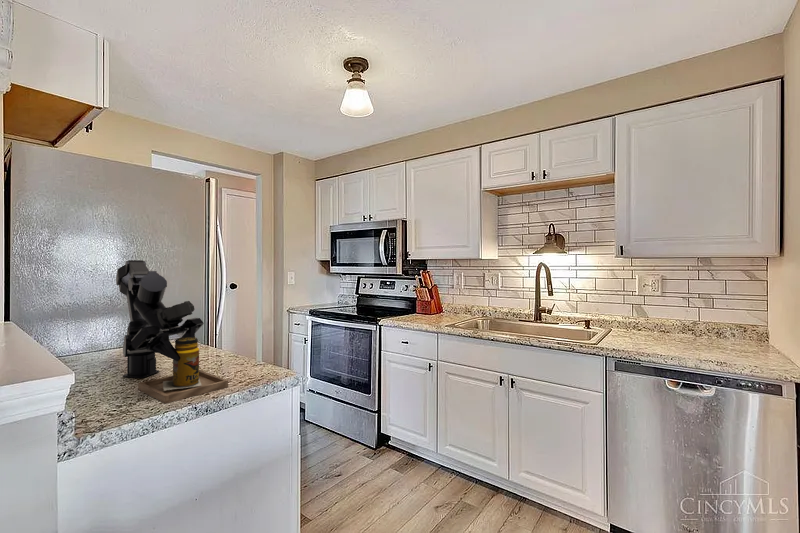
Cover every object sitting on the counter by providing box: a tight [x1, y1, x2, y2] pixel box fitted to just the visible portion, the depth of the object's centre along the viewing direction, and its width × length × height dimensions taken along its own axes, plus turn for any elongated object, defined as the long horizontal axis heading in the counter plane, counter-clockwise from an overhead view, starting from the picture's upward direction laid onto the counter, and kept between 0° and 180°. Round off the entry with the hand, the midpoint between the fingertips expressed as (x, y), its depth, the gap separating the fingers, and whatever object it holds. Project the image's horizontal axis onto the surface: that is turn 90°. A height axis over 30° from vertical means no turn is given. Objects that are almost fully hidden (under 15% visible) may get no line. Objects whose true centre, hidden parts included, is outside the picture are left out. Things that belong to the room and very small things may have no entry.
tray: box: [137, 369, 229, 404], centre depth 102 cm, size 16×16×2 cm
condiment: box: [163, 336, 201, 391], centre depth 102 cm, size 7×8×12 cm
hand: (188, 356), depth 102 cm, fingers closed on condiment, 6 cm apart
